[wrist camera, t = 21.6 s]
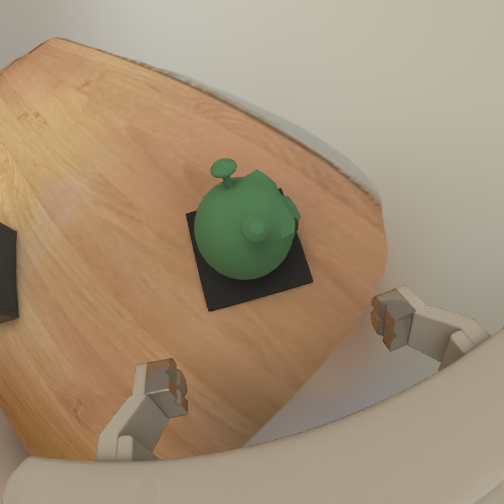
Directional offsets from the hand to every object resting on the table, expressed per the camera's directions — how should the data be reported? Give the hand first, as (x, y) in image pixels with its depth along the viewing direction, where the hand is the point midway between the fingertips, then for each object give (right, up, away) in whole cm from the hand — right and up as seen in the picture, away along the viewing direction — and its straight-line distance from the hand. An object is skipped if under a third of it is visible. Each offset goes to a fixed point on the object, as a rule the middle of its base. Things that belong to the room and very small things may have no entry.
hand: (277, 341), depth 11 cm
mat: (-1, +4, +15) cm, 15 cm away
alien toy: (-1, +4, +14) cm, 15 cm away
